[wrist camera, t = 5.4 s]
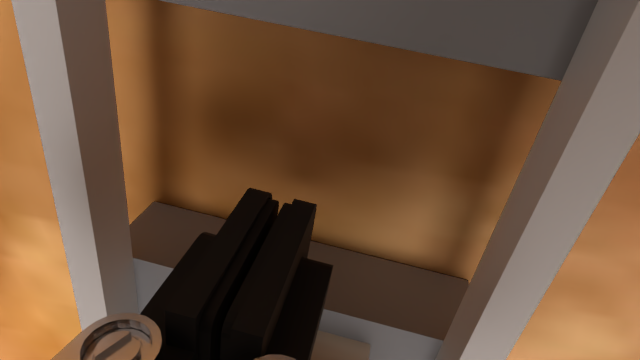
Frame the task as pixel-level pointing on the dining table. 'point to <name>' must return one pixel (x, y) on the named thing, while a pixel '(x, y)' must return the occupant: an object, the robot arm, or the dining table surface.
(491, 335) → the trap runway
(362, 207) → the dining table surface
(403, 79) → the dining table surface
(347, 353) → the block
